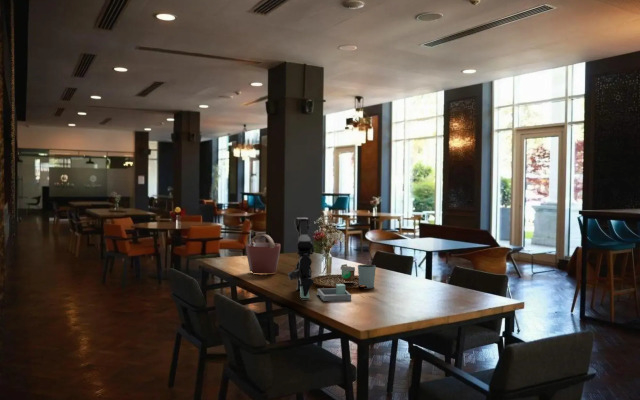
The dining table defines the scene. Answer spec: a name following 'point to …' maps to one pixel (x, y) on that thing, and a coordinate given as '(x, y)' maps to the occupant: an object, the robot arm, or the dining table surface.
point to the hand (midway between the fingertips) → (304, 295)
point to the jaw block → (303, 293)
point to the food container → (347, 272)
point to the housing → (335, 294)
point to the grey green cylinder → (366, 275)
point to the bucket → (263, 255)
